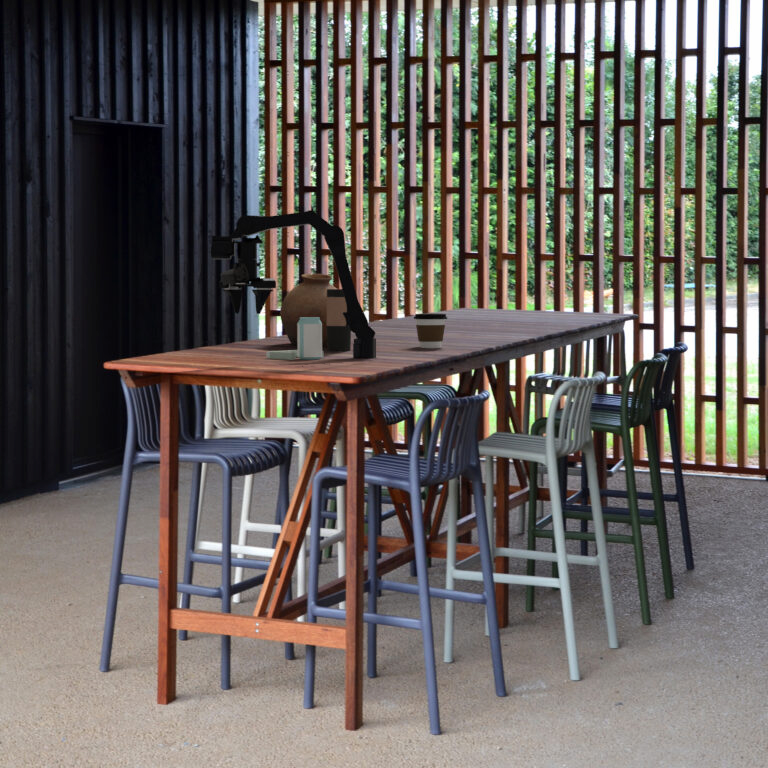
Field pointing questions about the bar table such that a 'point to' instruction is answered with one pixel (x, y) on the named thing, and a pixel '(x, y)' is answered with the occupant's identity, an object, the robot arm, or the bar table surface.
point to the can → (309, 338)
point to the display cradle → (284, 354)
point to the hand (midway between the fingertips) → (247, 313)
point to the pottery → (306, 304)
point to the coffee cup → (430, 329)
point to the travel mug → (337, 322)
